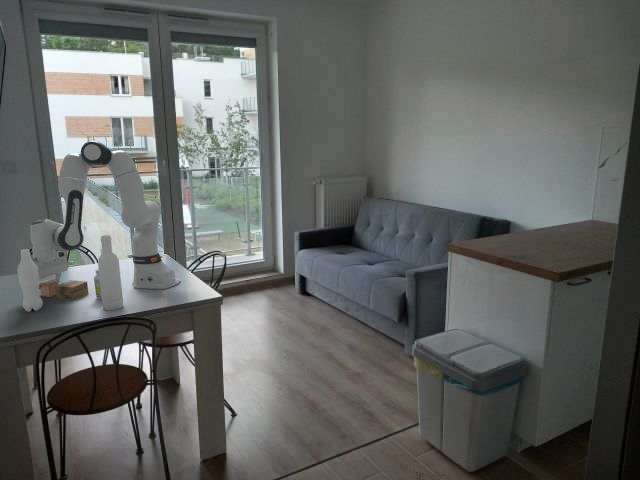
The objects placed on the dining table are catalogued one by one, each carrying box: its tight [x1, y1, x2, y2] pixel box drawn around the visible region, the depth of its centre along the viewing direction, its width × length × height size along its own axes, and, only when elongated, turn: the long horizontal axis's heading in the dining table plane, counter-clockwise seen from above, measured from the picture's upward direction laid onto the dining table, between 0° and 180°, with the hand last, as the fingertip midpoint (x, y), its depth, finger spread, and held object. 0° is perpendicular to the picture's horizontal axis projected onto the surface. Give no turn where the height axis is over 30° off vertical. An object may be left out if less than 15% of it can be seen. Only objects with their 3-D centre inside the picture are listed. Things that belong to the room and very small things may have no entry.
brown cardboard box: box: [39, 278, 60, 298], centre depth 214 cm, size 6×6×6 cm
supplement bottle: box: [93, 268, 102, 300], centre depth 208 cm, size 7×7×13 cm
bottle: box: [97, 234, 124, 311], centre depth 194 cm, size 8×8×30 cm
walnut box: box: [55, 279, 89, 301], centre depth 211 cm, size 9×9×6 cm
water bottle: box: [16, 249, 44, 313], centre depth 193 cm, size 7×7×25 cm
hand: (48, 285), depth 214 cm, fingers open, 8 cm apart
